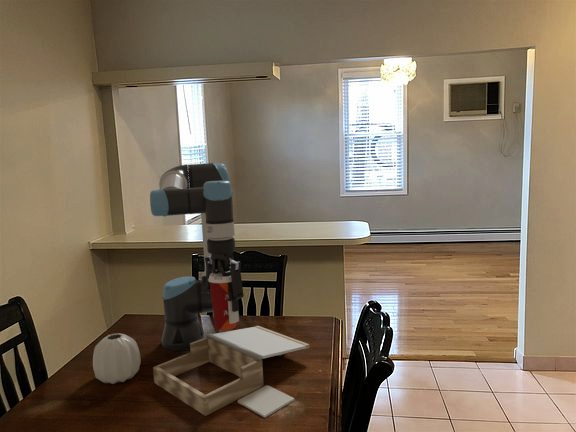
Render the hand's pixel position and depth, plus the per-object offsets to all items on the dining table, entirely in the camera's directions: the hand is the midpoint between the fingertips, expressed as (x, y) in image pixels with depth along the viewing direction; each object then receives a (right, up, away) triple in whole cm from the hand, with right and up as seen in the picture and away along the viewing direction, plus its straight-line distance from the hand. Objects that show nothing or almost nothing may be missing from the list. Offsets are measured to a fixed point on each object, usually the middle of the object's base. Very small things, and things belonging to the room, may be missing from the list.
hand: (225, 319), depth 129 cm
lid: (+8, -14, +22) cm, 27 cm away
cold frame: (-6, -21, +8) cm, 24 cm away
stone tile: (+11, -22, -2) cm, 25 cm away
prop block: (+13, -17, +28) cm, 36 cm away
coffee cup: (0, -2, 0) cm, 2 cm away
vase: (-35, -22, +15) cm, 44 cm away
